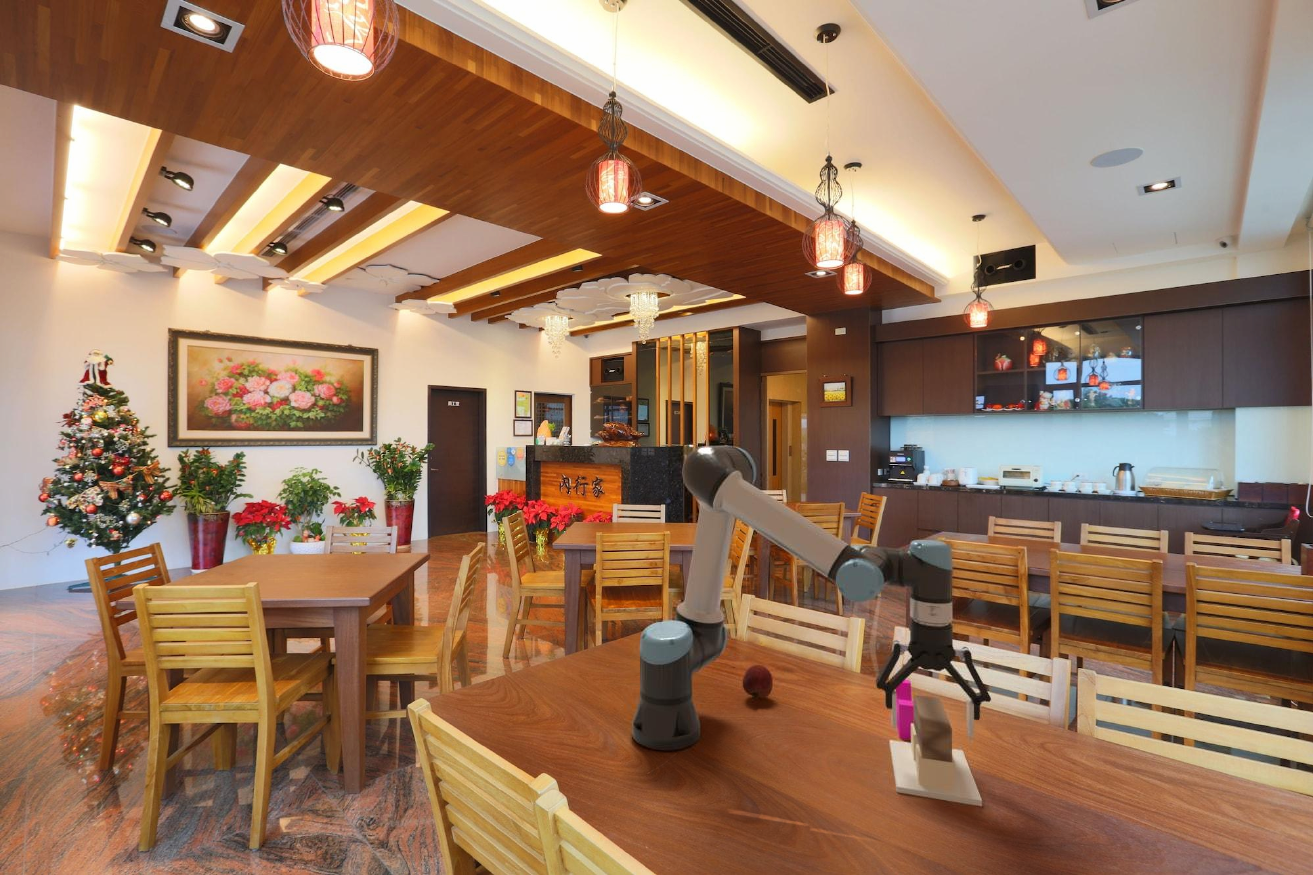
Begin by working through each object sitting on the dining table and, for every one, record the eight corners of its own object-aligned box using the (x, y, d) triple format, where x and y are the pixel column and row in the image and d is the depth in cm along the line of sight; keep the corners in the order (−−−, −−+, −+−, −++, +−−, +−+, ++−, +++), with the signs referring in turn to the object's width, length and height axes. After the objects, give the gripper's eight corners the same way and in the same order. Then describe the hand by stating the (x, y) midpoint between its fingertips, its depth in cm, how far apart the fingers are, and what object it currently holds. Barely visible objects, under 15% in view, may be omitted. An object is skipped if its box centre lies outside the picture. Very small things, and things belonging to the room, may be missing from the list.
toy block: (930, 743, 127) (930, 708, 127) (899, 738, 128) (899, 704, 129) (921, 713, 141) (921, 681, 141) (893, 709, 143) (893, 678, 143)
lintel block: (922, 758, 109) (922, 725, 109) (913, 723, 122) (913, 694, 122) (952, 762, 107) (952, 729, 108) (940, 727, 121) (940, 697, 121)
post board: (896, 791, 108) (896, 759, 109) (889, 744, 126) (889, 716, 126) (982, 806, 104) (982, 772, 104) (962, 755, 121) (962, 725, 121)
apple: (779, 698, 148) (779, 666, 148) (756, 706, 144) (756, 673, 144) (758, 688, 154) (758, 658, 154) (736, 695, 150) (736, 664, 150)
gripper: (864, 620, 115) (864, 729, 115) (1008, 632, 108) (1009, 749, 108) (862, 610, 123) (863, 712, 122) (998, 621, 115) (998, 730, 115)
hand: (931, 730), depth 115 cm, fingers open, 13 cm apart
